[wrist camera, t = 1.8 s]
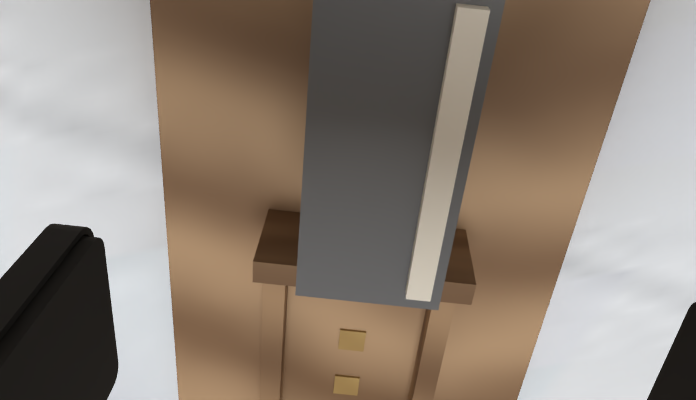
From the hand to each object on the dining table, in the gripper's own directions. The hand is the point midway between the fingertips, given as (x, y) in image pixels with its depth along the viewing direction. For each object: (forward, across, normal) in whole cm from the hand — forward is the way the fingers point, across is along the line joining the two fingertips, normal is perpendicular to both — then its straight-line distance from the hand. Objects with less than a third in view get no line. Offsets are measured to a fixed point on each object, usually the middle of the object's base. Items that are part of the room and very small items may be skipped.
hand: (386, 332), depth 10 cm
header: (+12, 0, +5) cm, 13 cm away
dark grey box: (+10, 0, -1) cm, 11 cm away
